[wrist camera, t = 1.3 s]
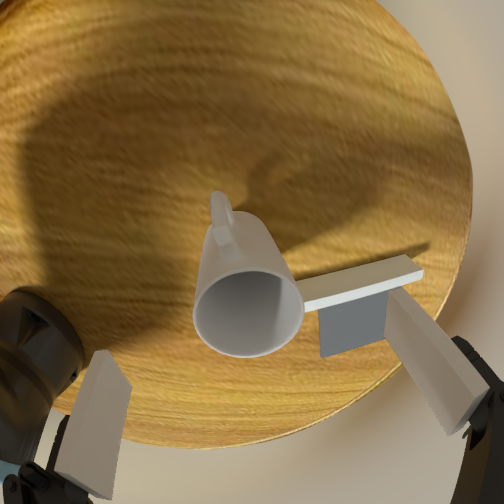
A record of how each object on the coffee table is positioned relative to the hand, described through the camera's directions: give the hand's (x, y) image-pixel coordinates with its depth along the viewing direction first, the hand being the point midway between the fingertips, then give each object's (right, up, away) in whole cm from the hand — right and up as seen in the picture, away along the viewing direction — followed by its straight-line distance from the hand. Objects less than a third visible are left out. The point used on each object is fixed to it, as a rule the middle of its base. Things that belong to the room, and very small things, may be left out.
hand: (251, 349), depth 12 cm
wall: (+7, +1, +18) cm, 20 cm away
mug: (-2, +7, +15) cm, 17 cm away
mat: (+13, -4, +21) cm, 25 cm away
